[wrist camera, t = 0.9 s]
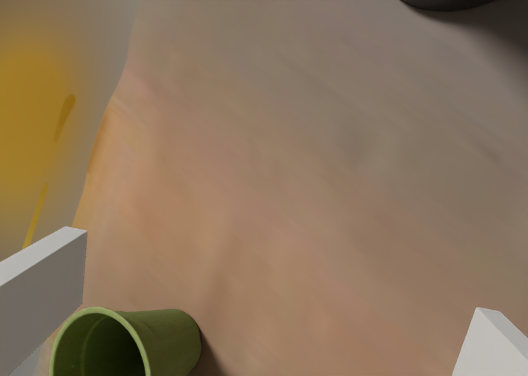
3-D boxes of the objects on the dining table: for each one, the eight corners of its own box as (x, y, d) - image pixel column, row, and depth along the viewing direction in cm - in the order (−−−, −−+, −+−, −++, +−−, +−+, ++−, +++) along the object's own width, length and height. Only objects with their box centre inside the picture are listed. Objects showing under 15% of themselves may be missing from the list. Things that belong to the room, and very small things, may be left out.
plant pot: (216, 410, 38) (139, 478, 28) (131, 378, 43) (40, 425, 33) (228, 298, 39) (157, 324, 29) (143, 278, 44) (57, 295, 34)
